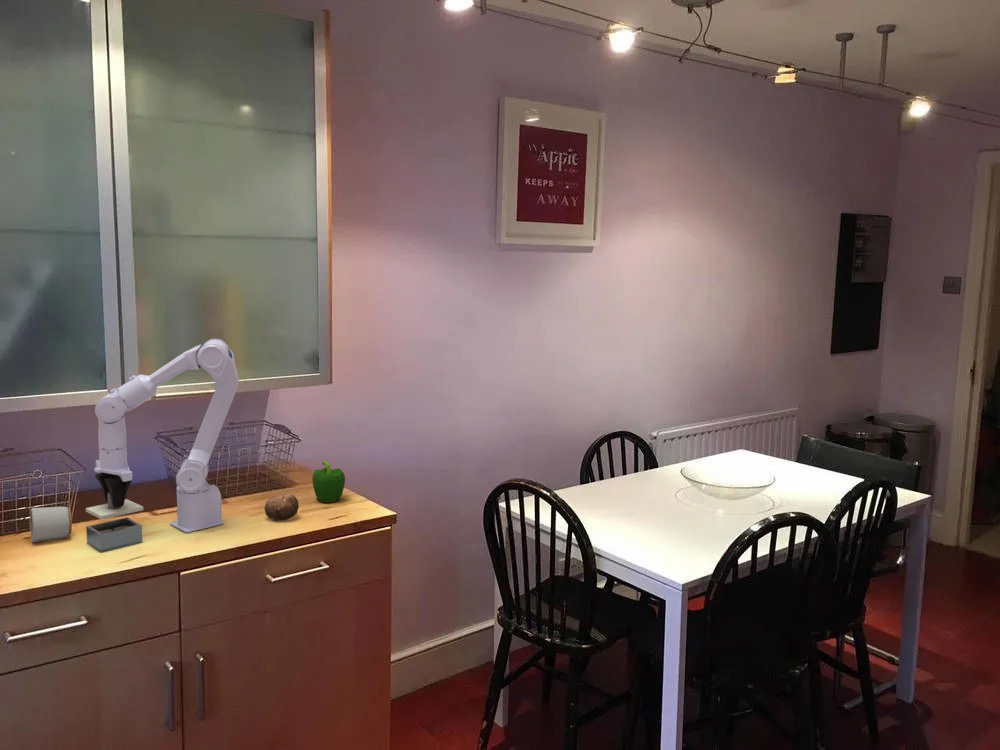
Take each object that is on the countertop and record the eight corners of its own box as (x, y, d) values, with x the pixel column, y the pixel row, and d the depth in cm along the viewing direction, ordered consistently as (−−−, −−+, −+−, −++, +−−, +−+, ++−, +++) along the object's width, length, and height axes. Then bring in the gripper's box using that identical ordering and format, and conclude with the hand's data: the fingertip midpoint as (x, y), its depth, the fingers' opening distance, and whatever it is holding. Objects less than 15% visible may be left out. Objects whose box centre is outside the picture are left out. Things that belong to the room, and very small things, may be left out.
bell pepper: (347, 503, 216) (348, 466, 214) (315, 506, 213) (315, 468, 211) (341, 494, 224) (341, 457, 222) (310, 496, 220) (310, 459, 219)
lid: (127, 502, 197) (126, 485, 196) (143, 509, 192) (142, 492, 191) (85, 511, 189) (85, 493, 189) (101, 519, 185) (100, 500, 184)
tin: (128, 534, 189) (127, 517, 188) (142, 542, 184) (141, 524, 183) (87, 543, 182) (86, 526, 181) (100, 552, 177) (100, 534, 177)
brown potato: (285, 496, 209) (282, 481, 205) (307, 514, 206) (304, 499, 201) (260, 517, 205) (256, 502, 200) (282, 535, 201) (278, 520, 197)
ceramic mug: (73, 540, 184) (72, 508, 183) (33, 546, 179) (31, 513, 178) (67, 527, 192) (65, 496, 191) (28, 533, 188) (26, 501, 186)
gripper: (81, 443, 190) (83, 501, 192) (108, 456, 181) (111, 516, 183) (112, 439, 195) (114, 495, 198) (140, 451, 186) (142, 509, 188)
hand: (114, 505), depth 191 cm, fingers closed on lid, 3 cm apart
